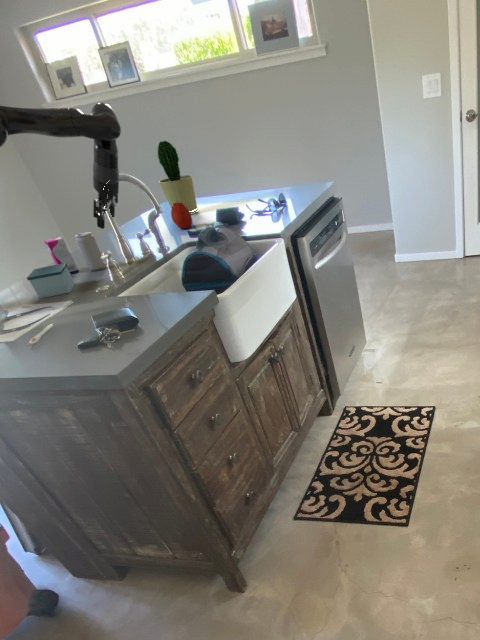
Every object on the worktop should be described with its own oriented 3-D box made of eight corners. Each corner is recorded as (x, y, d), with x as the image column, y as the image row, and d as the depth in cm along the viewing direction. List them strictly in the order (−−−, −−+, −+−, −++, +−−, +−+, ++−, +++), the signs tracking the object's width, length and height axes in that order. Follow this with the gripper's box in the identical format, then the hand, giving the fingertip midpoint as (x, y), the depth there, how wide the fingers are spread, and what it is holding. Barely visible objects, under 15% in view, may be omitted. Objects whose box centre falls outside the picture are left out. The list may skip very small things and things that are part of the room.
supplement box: (75, 268, 198) (59, 236, 190) (79, 271, 194) (63, 238, 186) (59, 273, 195) (43, 240, 188) (63, 276, 192) (46, 242, 184)
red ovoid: (172, 231, 228) (162, 203, 221) (184, 225, 233) (175, 198, 226) (186, 231, 225) (176, 203, 218) (198, 225, 230) (189, 198, 223)
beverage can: (90, 268, 196) (73, 233, 188) (107, 264, 197) (92, 230, 189) (89, 272, 191) (72, 237, 183) (106, 269, 192) (91, 233, 184)
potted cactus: (172, 219, 247) (146, 143, 227) (169, 214, 258) (144, 141, 238) (204, 212, 250) (181, 137, 230) (199, 207, 261) (177, 135, 241)
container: (38, 299, 173) (26, 277, 169) (45, 289, 181) (34, 269, 177) (70, 292, 175) (60, 271, 170) (76, 283, 182) (66, 262, 178)
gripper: (103, 161, 174) (103, 208, 186) (84, 179, 165) (85, 226, 178) (126, 172, 176) (125, 217, 188) (109, 190, 167) (108, 236, 180)
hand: (105, 221), depth 183 cm, fingers open, 8 cm apart
